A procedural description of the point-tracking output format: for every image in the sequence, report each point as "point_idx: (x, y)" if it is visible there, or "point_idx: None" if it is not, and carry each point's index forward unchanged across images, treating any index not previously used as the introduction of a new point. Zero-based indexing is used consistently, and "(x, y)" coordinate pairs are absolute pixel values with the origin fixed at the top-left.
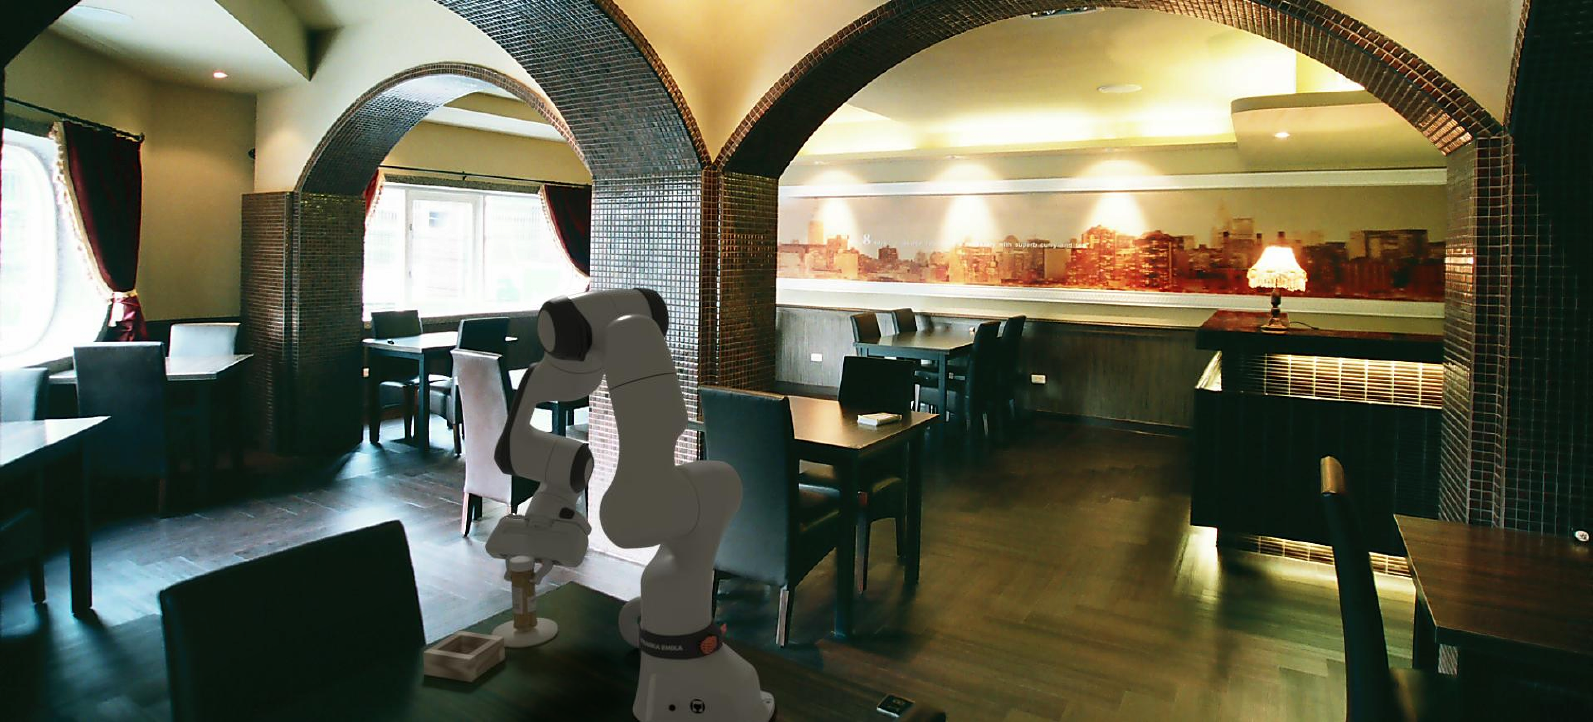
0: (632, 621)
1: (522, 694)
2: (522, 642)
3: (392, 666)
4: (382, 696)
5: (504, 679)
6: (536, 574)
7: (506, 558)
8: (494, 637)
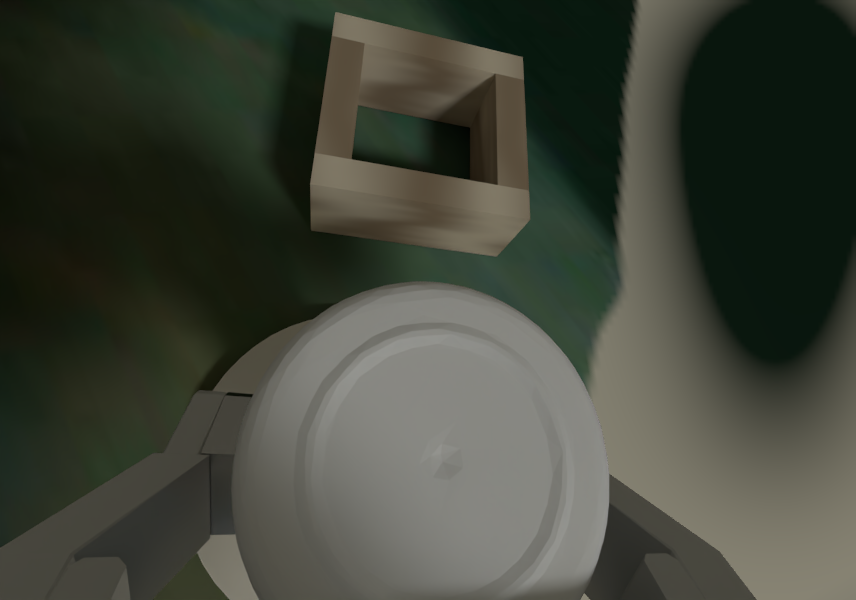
0: None
1: (117, 16)
2: (292, 330)
3: (607, 148)
4: (508, 13)
5: (231, 97)
6: (196, 434)
7: (728, 573)
8: (350, 177)
